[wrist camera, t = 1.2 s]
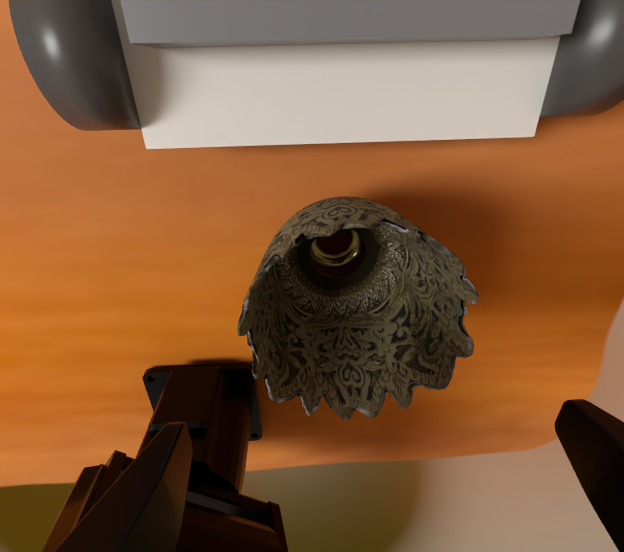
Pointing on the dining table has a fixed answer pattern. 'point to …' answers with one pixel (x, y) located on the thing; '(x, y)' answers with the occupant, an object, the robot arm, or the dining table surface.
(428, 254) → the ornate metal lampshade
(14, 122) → the dining table surface
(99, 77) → the car chassis
